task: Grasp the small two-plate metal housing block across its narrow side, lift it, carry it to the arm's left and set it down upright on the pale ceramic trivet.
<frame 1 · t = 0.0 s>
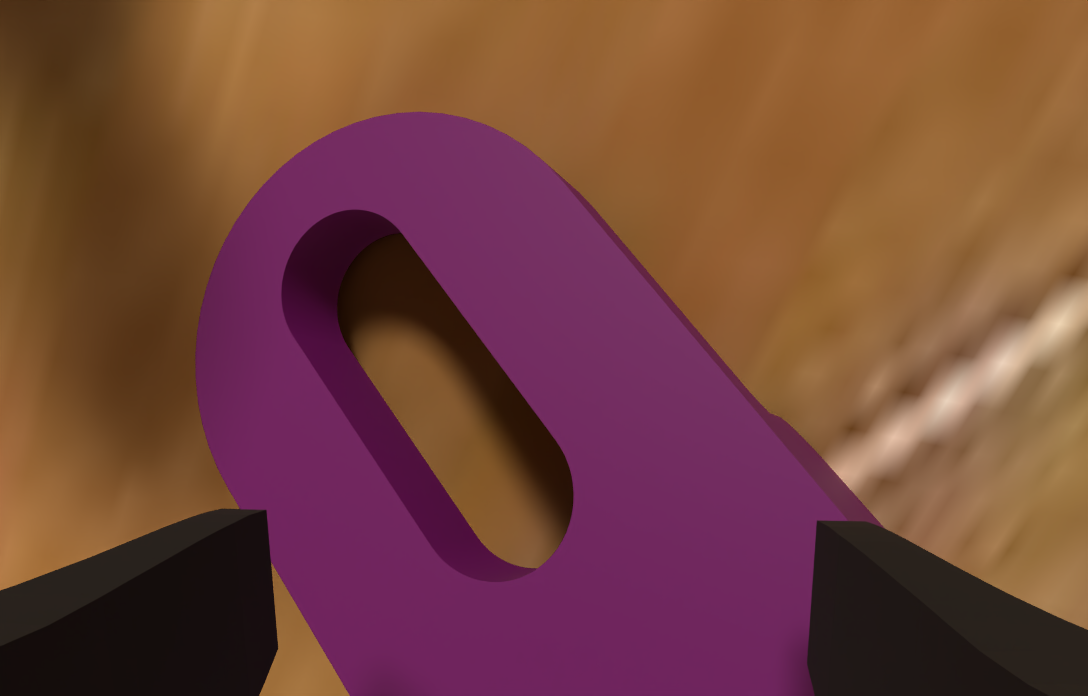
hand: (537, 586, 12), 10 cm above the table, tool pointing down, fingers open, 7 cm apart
mounting bracket: (564, 453, 22), on the table
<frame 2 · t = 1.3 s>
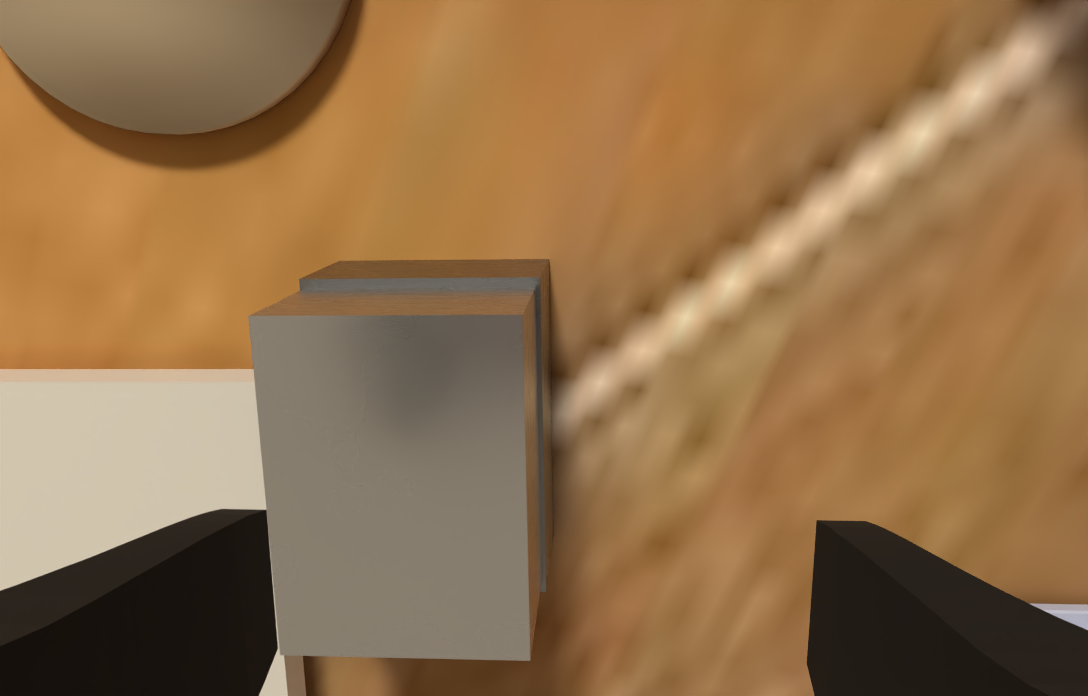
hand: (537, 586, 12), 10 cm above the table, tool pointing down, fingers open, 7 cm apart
housing: (450, 401, 22), on the table
trivet: (84, 582, 24), on the table
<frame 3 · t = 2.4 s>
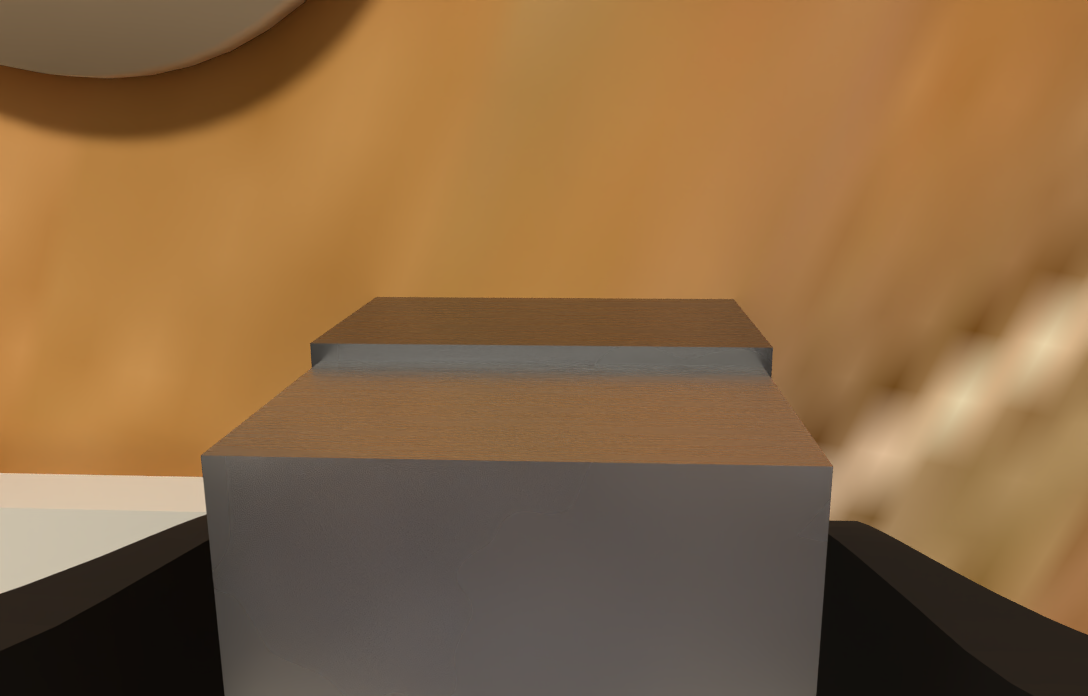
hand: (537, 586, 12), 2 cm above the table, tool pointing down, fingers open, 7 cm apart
housing: (553, 527, 13), on the table
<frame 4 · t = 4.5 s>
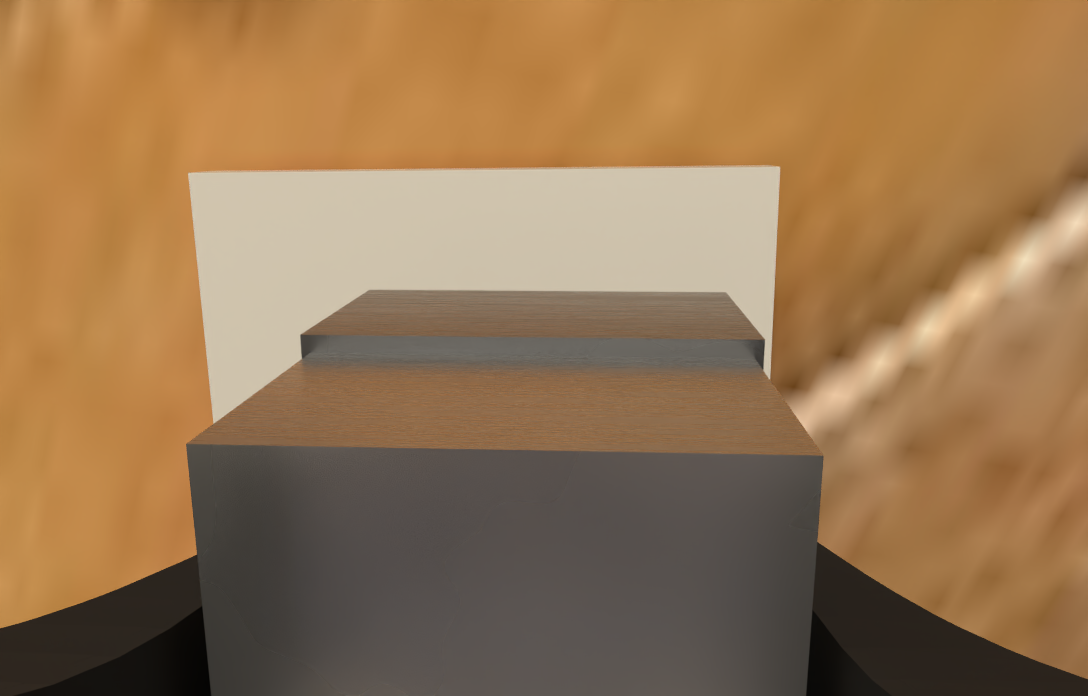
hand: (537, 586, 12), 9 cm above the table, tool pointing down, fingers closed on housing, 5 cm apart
housing: (546, 523, 13), point 8 cm above the table, touching gripper
trivet: (495, 426, 21), on the table
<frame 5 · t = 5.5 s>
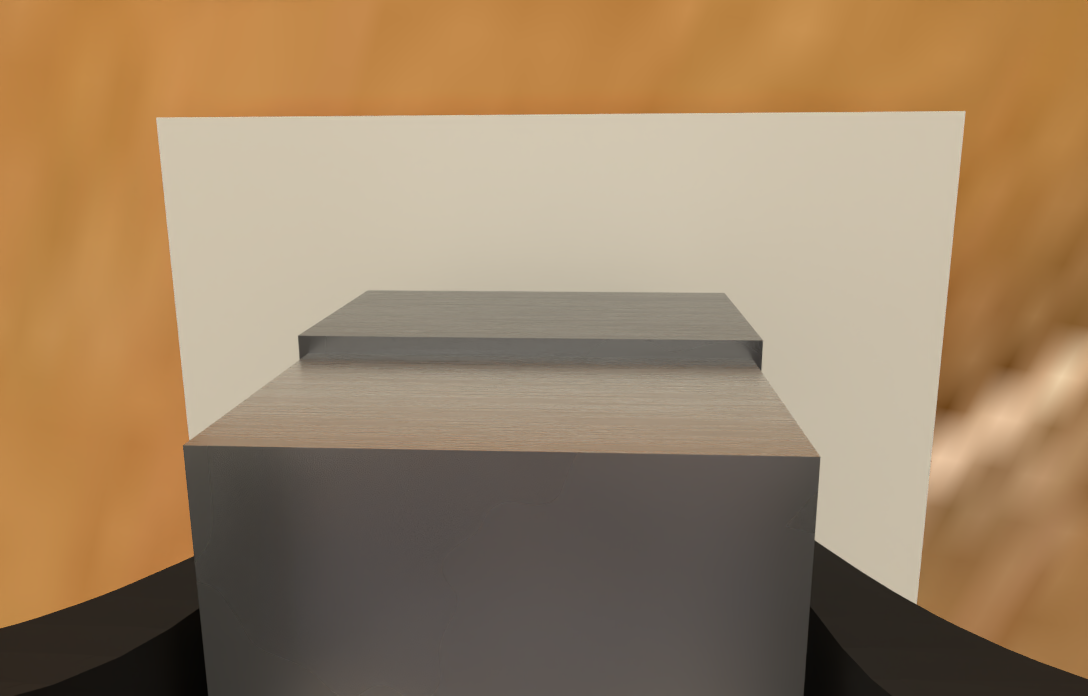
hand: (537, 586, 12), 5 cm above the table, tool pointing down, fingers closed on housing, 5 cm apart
housing: (544, 523, 13), point 3 cm above the table, touching gripper
trivet: (556, 455, 16), on the table
when the fingers open (4 cm above the table, at t = 6.1 s): housing stays where it is, resting on trivet.
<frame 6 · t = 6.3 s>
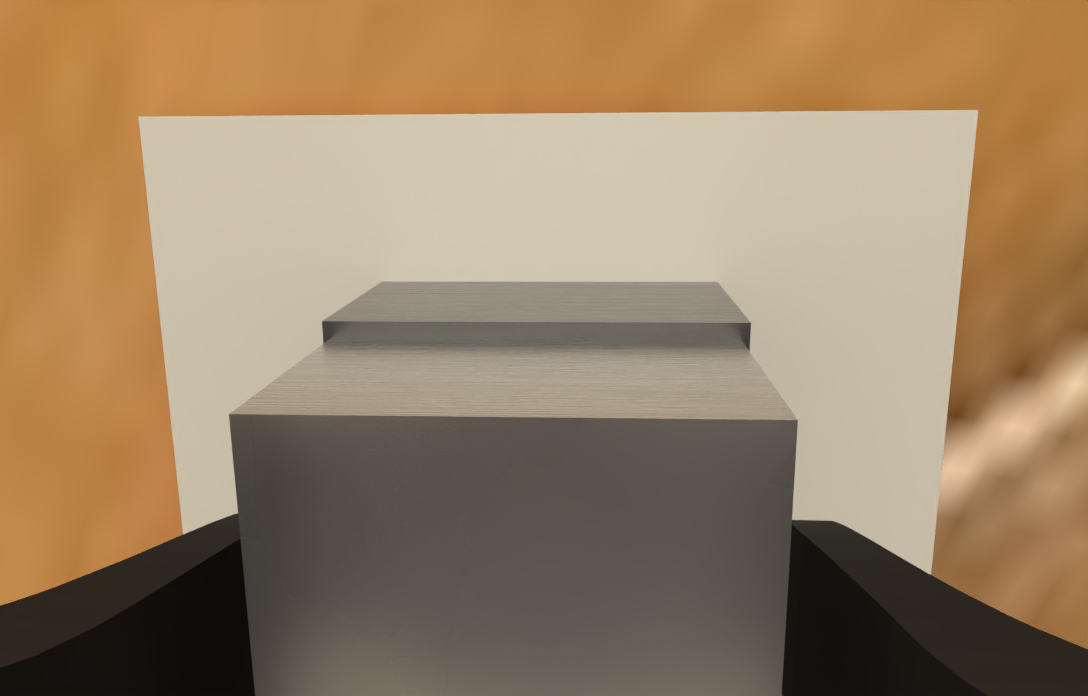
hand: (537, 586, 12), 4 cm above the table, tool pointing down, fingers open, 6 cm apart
housing: (549, 501, 14), point 2 cm above the table, touching trivet
trivet: (554, 464, 16), on the table
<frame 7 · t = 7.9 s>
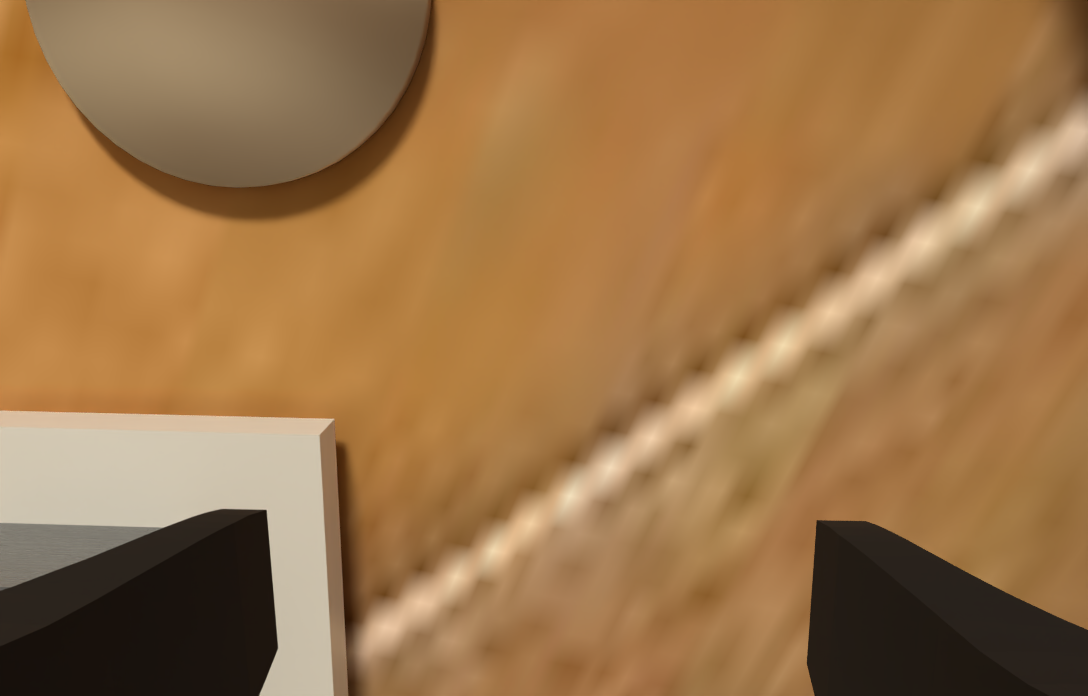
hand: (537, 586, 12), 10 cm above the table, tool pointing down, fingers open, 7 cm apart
housing: (94, 655, 22), point 2 cm above the table, touching trivet
trivet: (130, 620, 24), on the table
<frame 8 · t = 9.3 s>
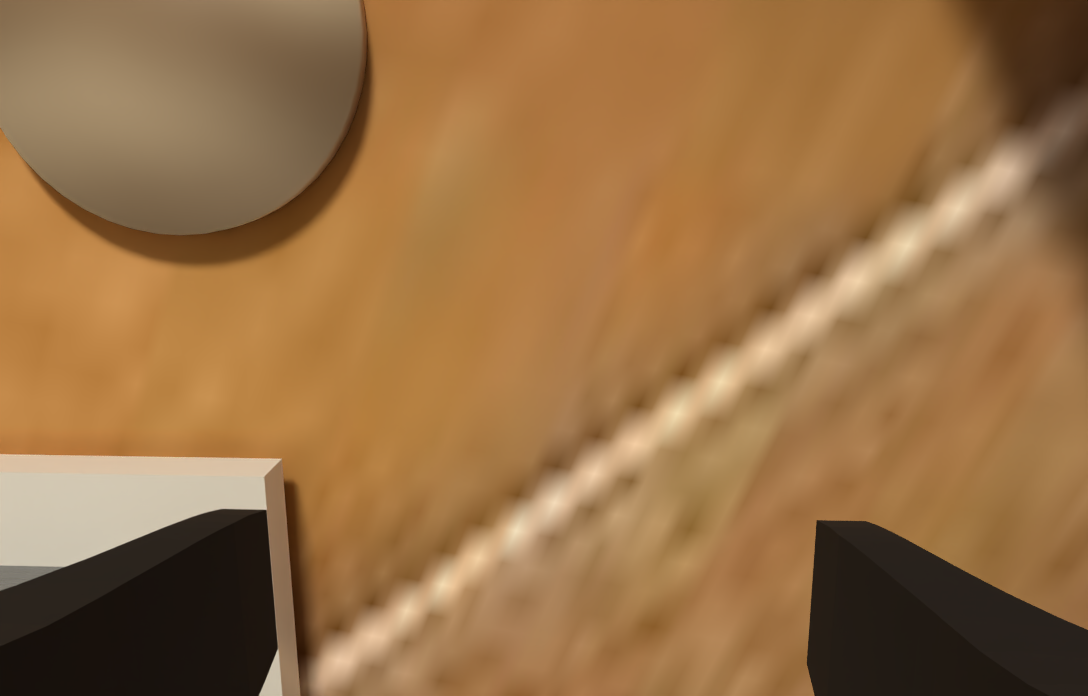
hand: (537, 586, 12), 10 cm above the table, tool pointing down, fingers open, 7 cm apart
housing: (50, 693, 22), point 2 cm above the table, touching trivet
trivet: (90, 655, 24), on the table
metal coaster: (173, 35, 20), on the table
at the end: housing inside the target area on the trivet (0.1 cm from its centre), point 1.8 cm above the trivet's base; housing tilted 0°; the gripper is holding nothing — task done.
